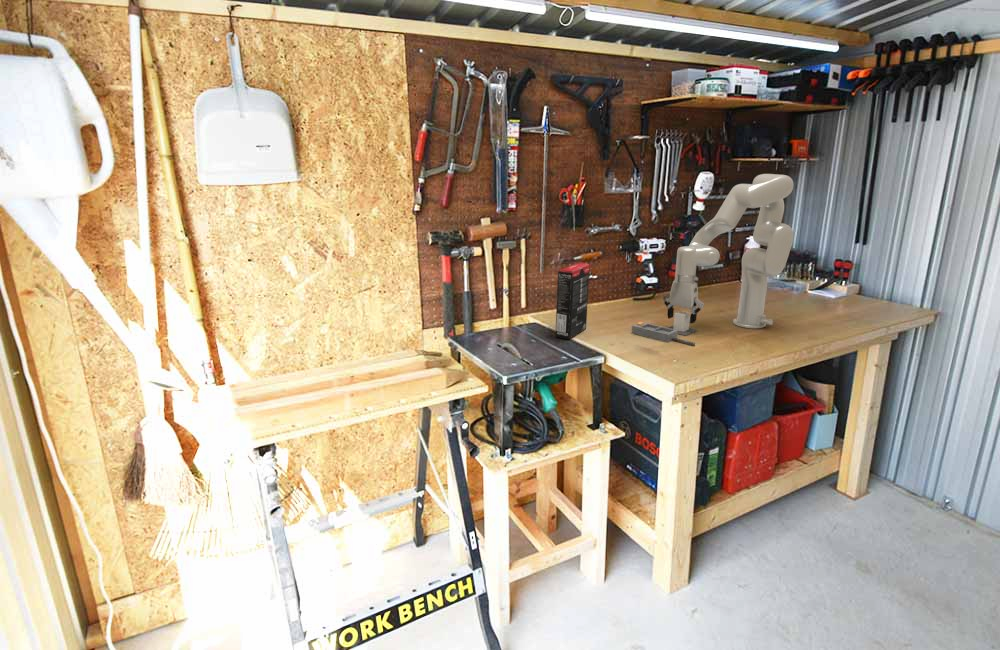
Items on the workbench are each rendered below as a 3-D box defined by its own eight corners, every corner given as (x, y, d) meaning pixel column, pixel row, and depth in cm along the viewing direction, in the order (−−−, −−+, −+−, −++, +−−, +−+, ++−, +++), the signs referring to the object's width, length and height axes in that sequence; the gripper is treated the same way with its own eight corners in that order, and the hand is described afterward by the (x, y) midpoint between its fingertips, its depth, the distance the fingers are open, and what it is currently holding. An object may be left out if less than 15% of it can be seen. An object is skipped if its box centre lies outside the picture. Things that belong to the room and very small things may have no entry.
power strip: (699, 343, 204) (700, 334, 203) (690, 348, 200) (691, 338, 198) (641, 329, 222) (642, 320, 221) (631, 333, 217) (632, 324, 216)
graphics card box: (572, 326, 227) (574, 261, 219) (588, 328, 224) (590, 263, 215) (554, 338, 213) (555, 269, 205) (571, 341, 210) (573, 271, 201)
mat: (698, 330, 219) (698, 329, 219) (685, 336, 213) (685, 335, 213) (675, 325, 226) (675, 324, 226) (662, 330, 220) (662, 329, 220)
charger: (688, 329, 219) (690, 311, 217) (683, 331, 217) (684, 314, 214) (678, 327, 222) (680, 309, 220) (673, 329, 220) (674, 312, 217)
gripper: (710, 280, 209) (706, 322, 215) (670, 273, 221) (666, 314, 227) (701, 283, 205) (696, 327, 210) (660, 276, 217) (657, 317, 222)
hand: (681, 320), depth 218 cm, fingers open, 9 cm apart
